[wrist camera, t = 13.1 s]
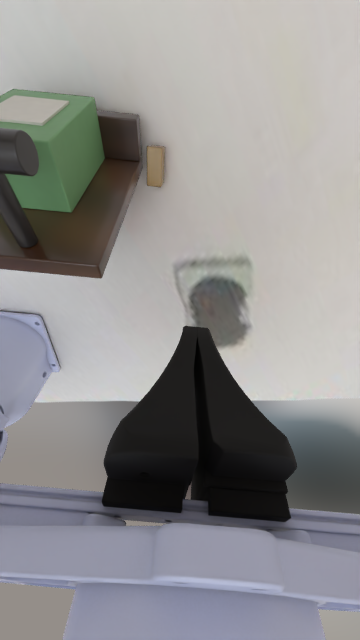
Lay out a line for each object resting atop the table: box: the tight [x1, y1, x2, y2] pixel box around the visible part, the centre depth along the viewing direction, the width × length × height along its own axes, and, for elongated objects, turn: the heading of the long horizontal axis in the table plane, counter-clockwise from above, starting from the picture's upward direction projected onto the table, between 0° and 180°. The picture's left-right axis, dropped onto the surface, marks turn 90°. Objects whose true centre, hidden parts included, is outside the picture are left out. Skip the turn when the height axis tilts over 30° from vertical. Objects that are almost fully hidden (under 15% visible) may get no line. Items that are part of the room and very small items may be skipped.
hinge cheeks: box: [147, 145, 165, 187], centre depth 16 cm, size 2×12×2 cm, turn 85°
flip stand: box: [0, 110, 142, 278], centre depth 12 cm, size 11×9×5 cm
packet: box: [0, 89, 105, 213], centre depth 12 cm, size 6×4×3 cm
